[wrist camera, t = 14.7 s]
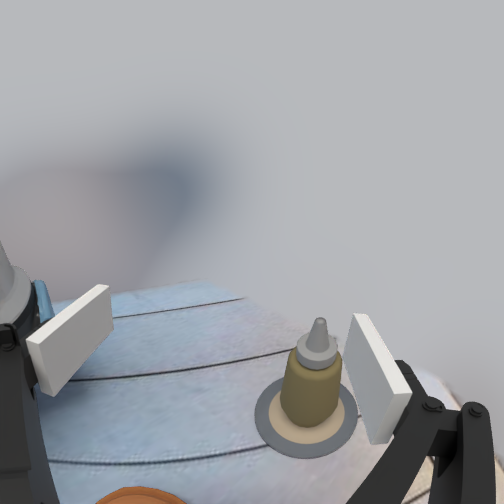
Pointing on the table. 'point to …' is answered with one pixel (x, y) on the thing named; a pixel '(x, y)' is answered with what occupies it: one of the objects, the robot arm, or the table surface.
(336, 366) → the squeeze bottle
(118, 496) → the pie
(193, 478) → the table surface
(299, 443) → the coaster
